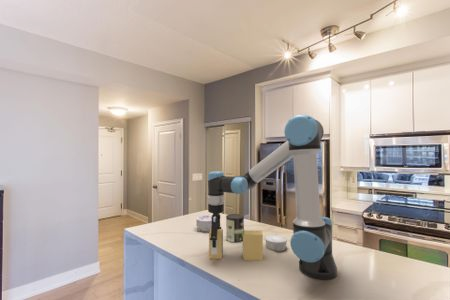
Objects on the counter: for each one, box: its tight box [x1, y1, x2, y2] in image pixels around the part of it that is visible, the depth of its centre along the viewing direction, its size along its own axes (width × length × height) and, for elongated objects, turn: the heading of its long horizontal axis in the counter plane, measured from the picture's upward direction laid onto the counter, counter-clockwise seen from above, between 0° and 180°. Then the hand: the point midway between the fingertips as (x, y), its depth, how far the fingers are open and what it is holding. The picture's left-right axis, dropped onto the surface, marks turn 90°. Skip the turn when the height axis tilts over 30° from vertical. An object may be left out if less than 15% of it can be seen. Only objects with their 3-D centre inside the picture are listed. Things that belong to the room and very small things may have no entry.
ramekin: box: [264, 234, 288, 253], centre depth 123 cm, size 11×11×5 cm
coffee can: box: [225, 213, 245, 244], centre depth 133 cm, size 10×10×14 cm
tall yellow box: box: [242, 229, 264, 261], centre depth 110 cm, size 9×6×12 cm, turn 86°
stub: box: [208, 228, 224, 260], centre depth 111 cm, size 6×6×12 cm
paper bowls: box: [195, 214, 213, 233], centre depth 153 cm, size 15×15×8 cm
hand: (215, 248), depth 111 cm, fingers open, 13 cm apart
